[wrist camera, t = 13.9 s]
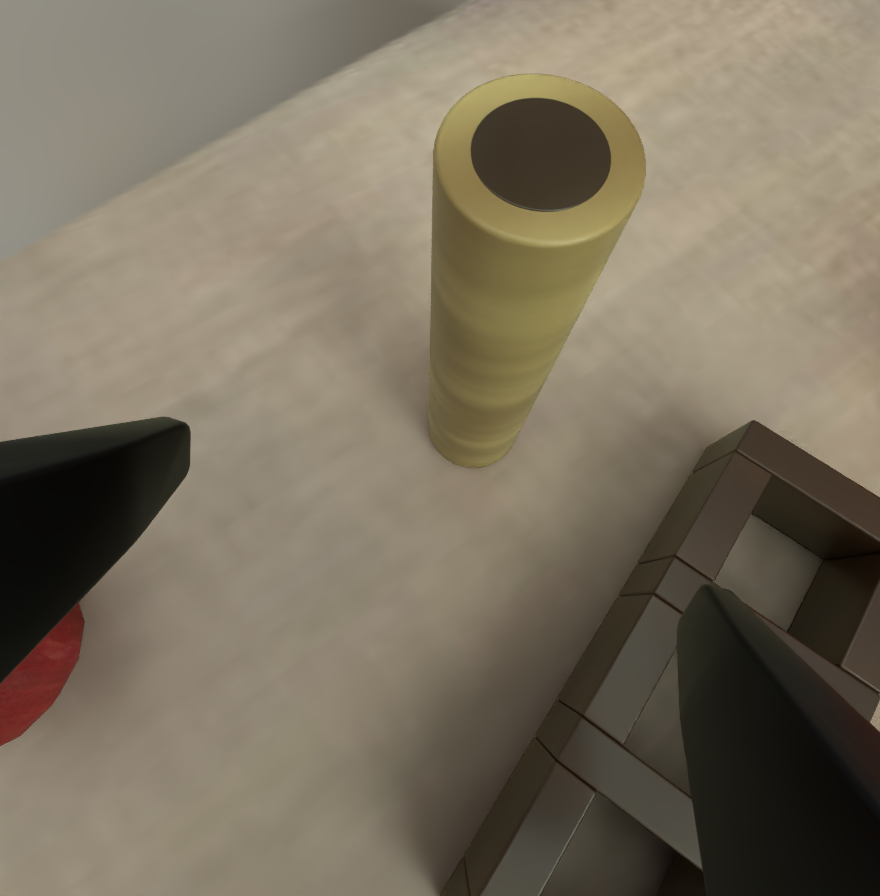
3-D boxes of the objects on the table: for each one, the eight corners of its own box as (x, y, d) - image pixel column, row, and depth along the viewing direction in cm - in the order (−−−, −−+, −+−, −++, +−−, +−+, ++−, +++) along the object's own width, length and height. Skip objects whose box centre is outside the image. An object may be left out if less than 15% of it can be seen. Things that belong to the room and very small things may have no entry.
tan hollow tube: (532, 443, 20) (691, 192, 8) (454, 483, 20) (500, 278, 8) (489, 371, 21) (575, 43, 9) (413, 408, 20) (396, 113, 8)
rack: (631, 1060, 15) (680, 1166, 12) (437, 898, 16) (440, 960, 13) (872, 550, 19) (951, 540, 16) (706, 445, 20) (754, 417, 17)
